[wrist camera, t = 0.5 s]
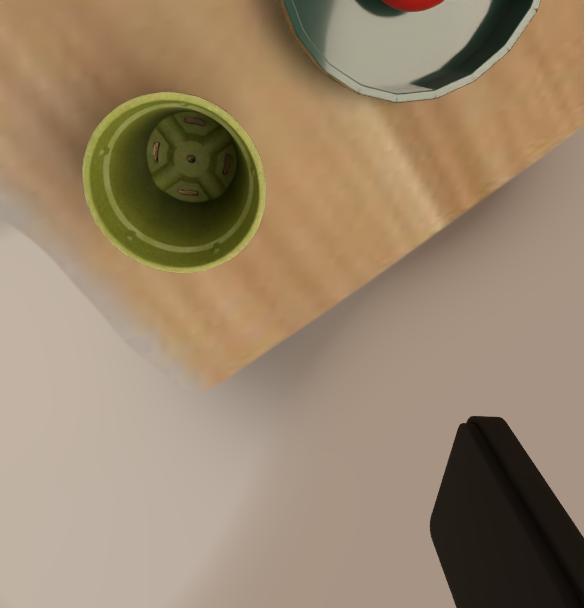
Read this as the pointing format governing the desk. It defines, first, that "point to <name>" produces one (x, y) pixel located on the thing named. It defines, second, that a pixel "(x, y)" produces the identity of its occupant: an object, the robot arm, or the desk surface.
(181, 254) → the plant pot
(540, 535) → the robot arm
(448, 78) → the pot
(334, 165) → the desk surface
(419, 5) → the apple
